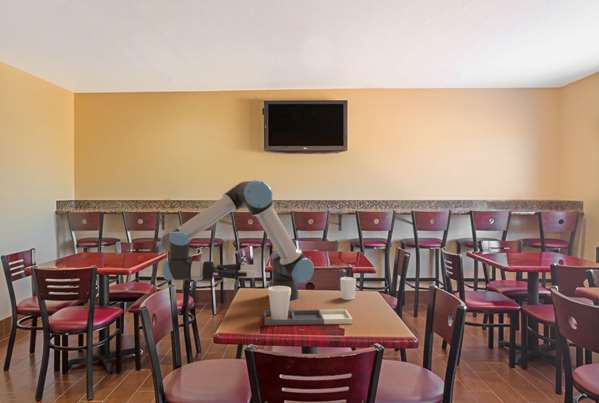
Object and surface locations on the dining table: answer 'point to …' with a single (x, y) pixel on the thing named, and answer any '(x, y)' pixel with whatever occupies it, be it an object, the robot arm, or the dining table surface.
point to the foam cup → (279, 301)
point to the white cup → (348, 288)
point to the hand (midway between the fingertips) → (255, 270)
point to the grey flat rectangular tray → (312, 317)
